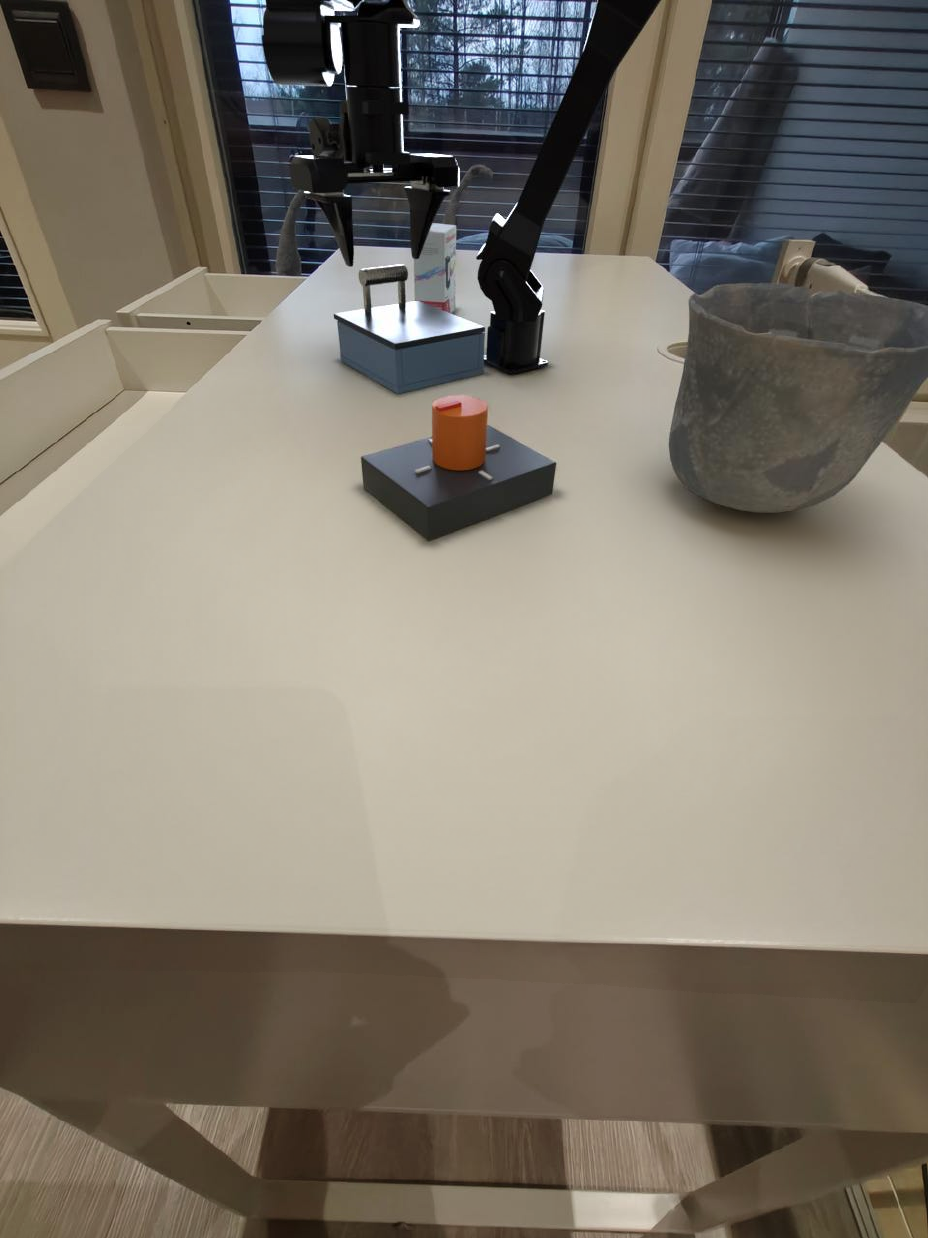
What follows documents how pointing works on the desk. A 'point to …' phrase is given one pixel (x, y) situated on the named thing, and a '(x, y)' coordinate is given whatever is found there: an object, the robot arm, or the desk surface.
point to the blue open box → (412, 359)
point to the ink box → (437, 268)
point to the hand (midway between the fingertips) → (383, 262)
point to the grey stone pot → (790, 391)
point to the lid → (403, 315)
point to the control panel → (456, 483)
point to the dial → (459, 432)
